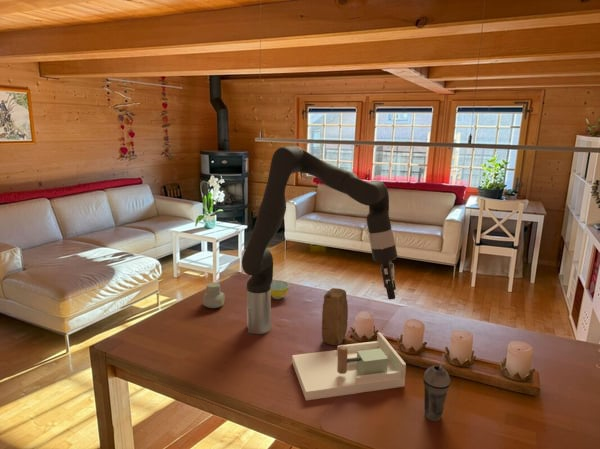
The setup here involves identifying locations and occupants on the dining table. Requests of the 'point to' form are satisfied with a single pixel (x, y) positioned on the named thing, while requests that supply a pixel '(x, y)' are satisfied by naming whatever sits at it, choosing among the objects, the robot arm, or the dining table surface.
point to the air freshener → (213, 296)
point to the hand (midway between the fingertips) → (392, 294)
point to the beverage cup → (435, 391)
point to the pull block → (363, 361)
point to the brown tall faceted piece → (334, 316)
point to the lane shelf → (328, 382)
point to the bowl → (279, 289)
